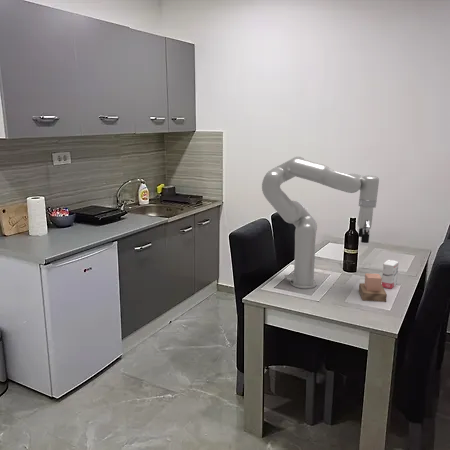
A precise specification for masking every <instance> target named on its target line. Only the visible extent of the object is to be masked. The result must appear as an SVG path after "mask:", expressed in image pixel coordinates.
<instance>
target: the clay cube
mask: <svg viewBox="0 0 450 450" xmlns="http://www.w3.org/2000/svg"><path fill="white" fill-rule="evenodd" d="M363 283H364V286H365V288H366V290H367V291H381V284H382V276H381V275H380V274H379V273H365V274H364V282H363Z"/></svg>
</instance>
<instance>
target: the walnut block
mask: <svg viewBox="0 0 450 450" xmlns="http://www.w3.org/2000/svg"><path fill="white" fill-rule="evenodd" d="M364 283H365V282H363V283H362V282H360V283H359V284H358V287H359V288H358V291H359V294H360V297H361V299H362V301H365V302H366V301H367V302H368V301H369V302H380V303H381V302H383V303H385V302H387V292H386V290H385V288H384V287H383V286H382V283H381V291H367V290H366V288H365V286H364Z"/></svg>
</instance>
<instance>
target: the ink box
mask: <svg viewBox="0 0 450 450" xmlns="http://www.w3.org/2000/svg"><path fill="white" fill-rule="evenodd" d="M399 264H400V261H397V260H394V259H387V260H386V261H385V262H383V265H382V266H383V267H382V276H381V278H382V283H381V284H382V286H383V288H384V289H390V290H392V289H393V288H394V287H395V286H396V285H397V283H398V273H399Z"/></svg>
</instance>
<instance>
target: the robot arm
mask: <svg viewBox="0 0 450 450" xmlns="http://www.w3.org/2000/svg"><path fill="white" fill-rule="evenodd" d="M295 177H296V178H300V179H303V180H306V181H311V182H313V183H317V184H320V185H323V186H326V187H329V188H331V189H334V190H337V191H341V192H345V193H348V194H354V193H357V192H359V197H358V198H359V199H358V207H359V210H358V211H359V212H358V219H357V226H358V235H357V236H358V237H359V238H360V243H362V244H369V242H370V235H371V234H370V229H371V230H372V224H373V217H374V215H373V214H374V209H375V208H376V207H377V201H378V200H377V199H378V191H379V184H380V178H379V177H378V176H376V175H362V174H358V173H357V174H356V173H349V174H346V173H343V172H339V171H336V170H334V169H332V168H330V167H329V166H327V165H325V164H322V163H318V162H314V161H311V160H307V159H305V158H304V157H301V156H294V157H292V158H290V159H289V160H287V161H285V162H283V163H281V164H280V165H279V164H278V165H277V166H275V167H274V168H272V169H270V170H268V172H266V173H265V175H264V177H263V179H262V183H261V189H262V190H261V191H262V195H263V196H264V197H265V199H266V201H268V203H269V204H270V205H271V206H272V207H273V209H274V210H275V211H276V212H277V214H278V215H279V216H280V217H281V218H282V220H283V221H284V222H286V223H288V224H292V225H294V227H295V230H294V265H293V268H294V269H293V272H292V274H284V280H287V281H290V285H291V286H292V287H295V288H297V289H313V288H315V287H317V284H318V282H317V281H316V280H315V279H314V277H315V259H316V257H315V255H316V239H317V238H316V237H317V230H318V224H317V222H316V220H315V218H314V217H313V216H312V215H311V214H310V213H309V212H308V211H307V209H306V208H305V207H304V206H303V204H301V203H300V202H298V201H297V200H292V199H291V198H290V197H289V196H288V194H286V193H285V192H284V191H283V190H282V187H281V185H282V184H283V183H285V182H287V181H289V180H291V179H293V178H295Z"/></svg>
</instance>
